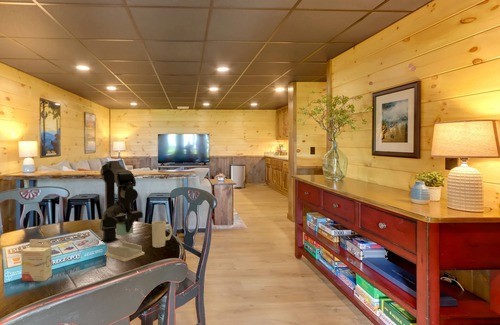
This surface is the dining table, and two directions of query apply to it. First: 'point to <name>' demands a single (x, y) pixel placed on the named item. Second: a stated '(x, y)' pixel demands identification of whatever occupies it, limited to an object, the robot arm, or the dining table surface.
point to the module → (122, 229)
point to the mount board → (124, 251)
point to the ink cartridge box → (37, 261)
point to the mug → (160, 233)
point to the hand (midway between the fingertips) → (124, 231)
